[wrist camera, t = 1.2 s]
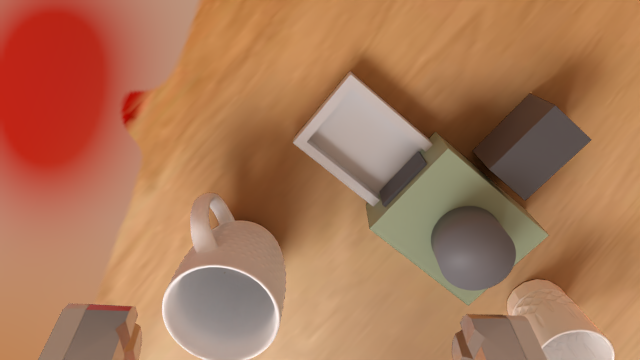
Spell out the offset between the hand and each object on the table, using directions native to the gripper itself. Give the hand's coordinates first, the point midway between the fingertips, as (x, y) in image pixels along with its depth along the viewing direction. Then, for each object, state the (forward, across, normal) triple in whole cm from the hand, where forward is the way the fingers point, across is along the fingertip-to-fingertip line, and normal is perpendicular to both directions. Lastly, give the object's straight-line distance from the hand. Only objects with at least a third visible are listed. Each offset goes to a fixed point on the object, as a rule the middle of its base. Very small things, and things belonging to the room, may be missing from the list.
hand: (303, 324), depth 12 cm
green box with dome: (+34, +13, -19) cm, 41 cm away
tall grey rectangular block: (+34, +24, -14) cm, 44 cm away
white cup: (+28, +30, -33) cm, 53 cm away
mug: (+33, -5, -29) cm, 44 cm away
